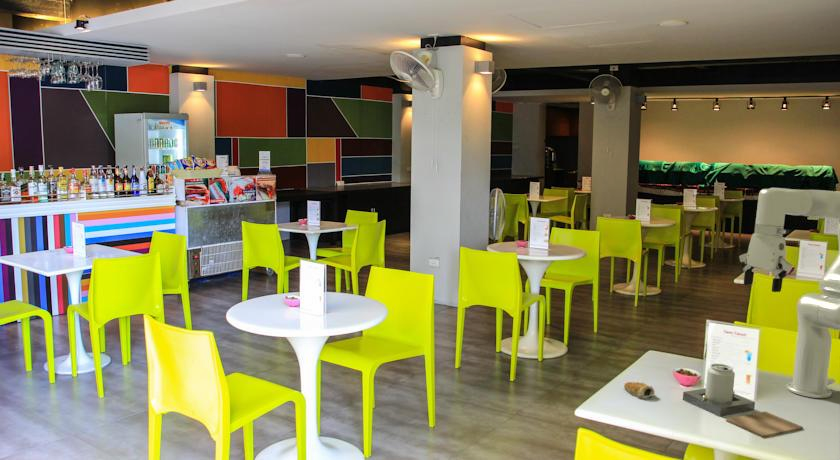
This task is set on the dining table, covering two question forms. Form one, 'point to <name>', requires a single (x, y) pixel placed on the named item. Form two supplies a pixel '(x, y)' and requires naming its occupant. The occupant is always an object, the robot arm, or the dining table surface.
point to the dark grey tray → (723, 409)
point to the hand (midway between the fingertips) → (761, 288)
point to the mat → (764, 424)
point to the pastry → (639, 389)
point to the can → (720, 383)
